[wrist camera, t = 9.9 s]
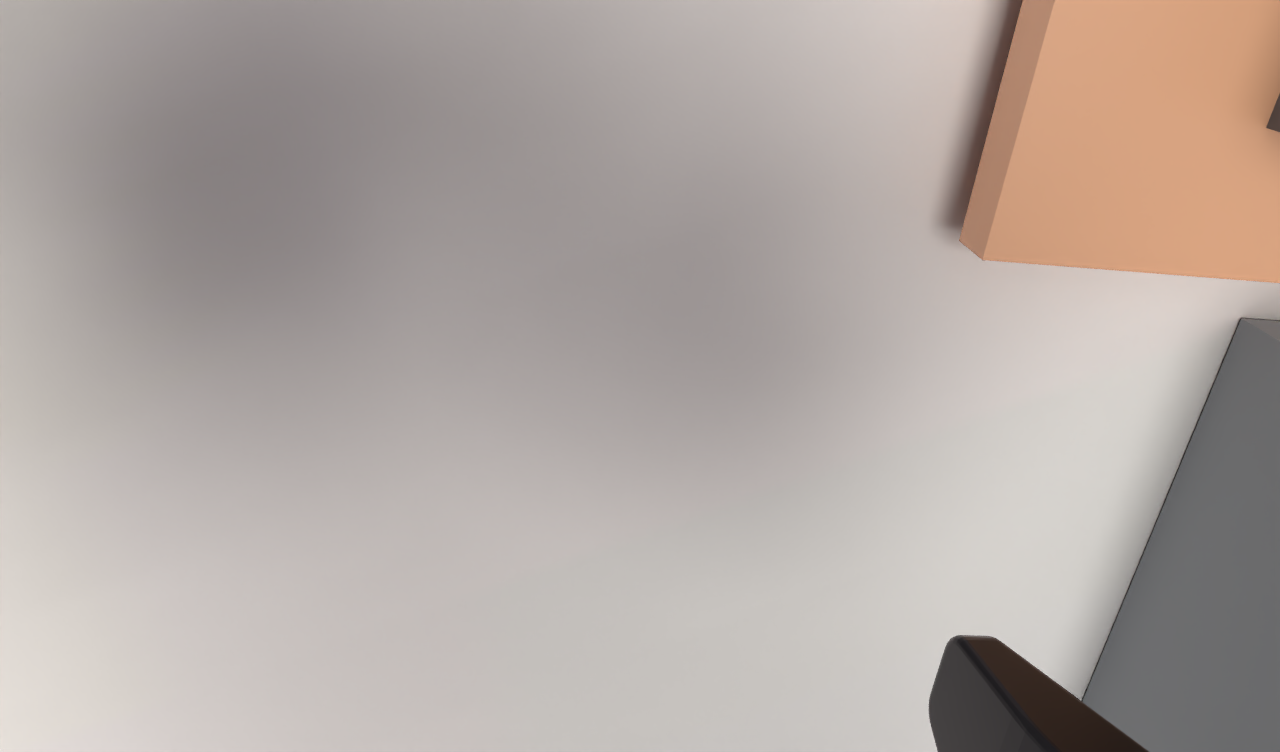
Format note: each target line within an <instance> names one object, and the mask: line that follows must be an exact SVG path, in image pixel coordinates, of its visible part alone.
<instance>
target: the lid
mask: <svg viewBox="0 0 1280 752" xmlns="http://www.w3.org/2000/svg"><path fill="white" fill-rule="evenodd" d="M959 241H960V242H961V243H963V244H964V245H965V246H966V247H967V248H969V249H970V250H971V251H972V252H973V253H975V254H976V255H977V256H978V257H979V258H981V259H982V260H990V261H1003V262H1016V263H1029V264H1042V265H1055V266H1067V267H1080V268H1093V269H1106V270H1119V271H1132V272H1144V273H1157V274H1170V275H1183V276H1196V277H1209V278H1221V279H1234V280H1247V281H1260V282H1273V283H1280V0H1023V2H1022V5H1021V9H1020V13H1019V17H1018V20H1017V24H1016V28H1015V32H1014V35H1013V39H1012V43H1011V47H1010V51H1009V54H1008V58H1007V62H1006V66H1005V69H1004V73H1003V77H1002V81H1001V84H1000V88H999V92H998V96H997V99H996V103H995V107H994V111H993V115H992V118H991V122H990V126H989V130H988V133H987V137H986V141H985V145H984V148H983V152H982V156H981V160H980V164H979V167H978V171H977V175H976V179H975V182H974V186H973V190H972V194H971V197H970V201H969V205H968V209H967V213H966V216H965V220H964V224H963V228H962V231H961V235H960V239H959Z"/></svg>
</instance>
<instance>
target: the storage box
mask: <svg viewBox="0 0 1280 752" xmlns="http://www.w3.org/2000/svg"><path fill="white" fill-rule="evenodd" d="M1082 702H1083V703H1084V704H1086V705H1087V706H1088V707H1090V708H1091V709H1093V710H1094V711H1095V712H1097V713H1098V714H1099V715H1101V716H1102V717H1103V718H1105V719H1106V720H1107V721H1109V722H1110V723H1111V724H1113V725H1114V726H1115V727H1117V728H1118V729H1120V730H1121V731H1122V732H1124V733H1125V734H1126V735H1128V736H1129V737H1130V738H1132V739H1133V740H1134V741H1136V742H1137V743H1138V744H1140V745H1141V746H1142V747H1144V748H1145V749H1147V750H1148V751H1149V752H1280V321H1274V320H1260V319H1245V318H1241V320H1240V323H1239V325H1238V327H1237V330H1236V332H1235V335H1234V337H1233V339H1232V342H1231V344H1230V347H1229V349H1228V351H1227V354H1226V356H1225V359H1224V361H1223V364H1222V366H1221V368H1220V371H1219V373H1218V376H1217V378H1216V380H1215V383H1214V385H1213V388H1212V390H1211V392H1210V395H1209V397H1208V400H1207V402H1206V404H1205V407H1204V409H1203V412H1202V414H1201V417H1200V419H1199V421H1198V424H1197V426H1196V429H1195V431H1194V433H1193V436H1192V438H1191V441H1190V443H1189V445H1188V448H1187V450H1186V453H1185V455H1184V457H1183V460H1182V462H1181V465H1180V467H1179V469H1178V472H1177V474H1176V477H1175V479H1174V482H1173V484H1172V486H1171V489H1170V491H1169V494H1168V496H1167V498H1166V501H1165V503H1164V506H1163V508H1162V510H1161V513H1160V515H1159V518H1158V520H1157V522H1156V525H1155V527H1154V530H1153V532H1152V534H1151V537H1150V539H1149V542H1148V544H1147V547H1146V549H1145V551H1144V554H1143V556H1142V559H1141V561H1140V563H1139V566H1138V568H1137V571H1136V573H1135V575H1134V578H1133V580H1132V583H1131V585H1130V587H1129V590H1128V592H1127V595H1126V597H1125V600H1124V602H1123V604H1122V607H1121V609H1120V612H1119V614H1118V616H1117V619H1116V621H1115V624H1114V626H1113V628H1112V631H1111V633H1110V636H1109V638H1108V640H1107V643H1106V645H1105V648H1104V650H1103V652H1102V655H1101V657H1100V660H1099V662H1098V665H1097V667H1096V669H1095V672H1094V674H1093V677H1092V679H1091V681H1090V684H1089V686H1088V689H1087V691H1086V693H1085V696H1084V698H1083V701H1082Z"/></svg>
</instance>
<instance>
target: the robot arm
mask: <svg viewBox="0 0 1280 752" xmlns="http://www.w3.org/2000/svg"><path fill="white" fill-rule="evenodd" d="M929 718H930V723H931V727H932V731H933V735H934V739H935V743H936V746H937V750H938V752H1149V751H1148V750H1147V749H1145V748H1144V747H1142V746H1141V745H1140V744H1138V743H1137V742H1136V741H1134V740H1133V739H1132V738H1130V737H1129V736H1128V735H1126V734H1125V733H1124V732H1122V731H1121V730H1120V729H1118V728H1117V727H1115V726H1114V725H1113V724H1111V723H1110V722H1109V721H1107V720H1106V719H1105V718H1103V717H1102V716H1101V715H1099V714H1098V713H1097V712H1095V711H1094V710H1093V709H1091V708H1090V707H1088V706H1087V705H1086V704H1084V703H1083V702H1082V701H1080V700H1079V699H1078V698H1076V697H1075V696H1074V695H1072V694H1071V693H1070V692H1068V691H1067V690H1066V689H1064V688H1063V687H1062V686H1060V685H1059V684H1057V683H1056V682H1055V681H1053V680H1052V679H1051V678H1049V677H1048V676H1047V675H1045V674H1044V673H1043V672H1041V671H1040V670H1039V669H1037V668H1036V667H1035V666H1033V665H1032V664H1030V663H1029V662H1028V661H1026V660H1025V659H1024V658H1022V657H1021V656H1020V655H1018V654H1017V653H1016V652H1014V651H1013V650H1012V649H1010V648H1009V647H1008V646H1006V645H1005V644H1003V643H1002V642H1001V641H999V640H998V639H996V638H994V637H990V636H971V635H958V636H955V637H952V638H951V639H950V640H949V642H948V643H947V645H946V647H945V650H944V653H943V656H942V659H941V663H940V666H939V669H938V672H937V675H936V678H935V682H934V685H933V688H932V691H931V694H930V699H929Z"/></svg>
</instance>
